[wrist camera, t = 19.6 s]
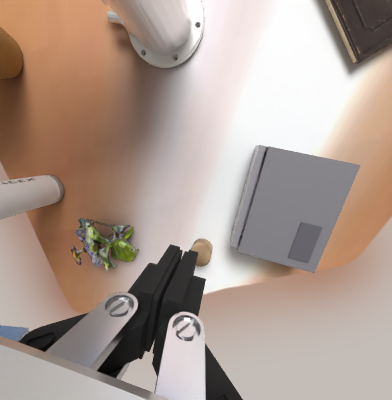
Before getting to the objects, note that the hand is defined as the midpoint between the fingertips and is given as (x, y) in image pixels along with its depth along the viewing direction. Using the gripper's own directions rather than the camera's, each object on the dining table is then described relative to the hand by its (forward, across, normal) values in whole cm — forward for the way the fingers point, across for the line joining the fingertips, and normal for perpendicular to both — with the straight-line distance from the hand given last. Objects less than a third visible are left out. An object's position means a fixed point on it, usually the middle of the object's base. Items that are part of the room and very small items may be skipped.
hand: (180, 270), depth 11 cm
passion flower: (+27, +19, +15) cm, 37 cm away
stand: (+27, 0, +13) cm, 30 cm away
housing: (+27, -12, 0) cm, 30 cm away
